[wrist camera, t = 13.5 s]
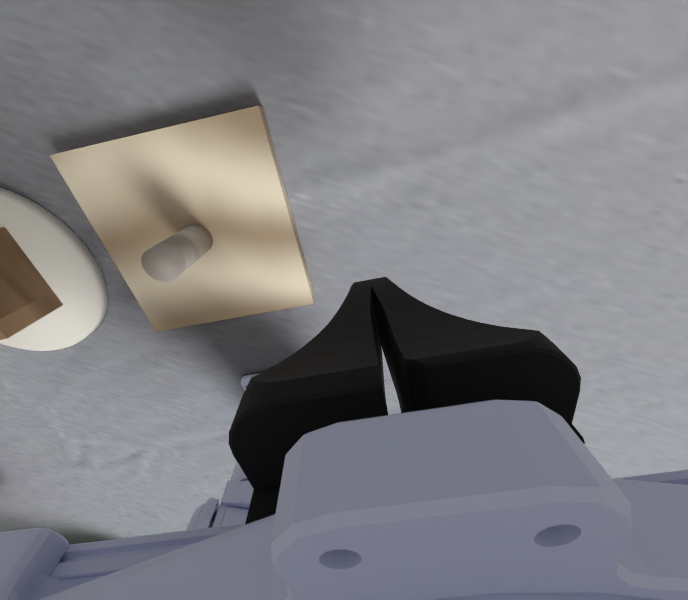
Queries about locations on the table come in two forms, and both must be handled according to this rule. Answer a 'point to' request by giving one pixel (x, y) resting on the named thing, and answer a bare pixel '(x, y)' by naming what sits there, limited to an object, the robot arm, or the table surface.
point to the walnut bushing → (21, 289)
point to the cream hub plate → (55, 275)
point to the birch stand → (194, 218)
